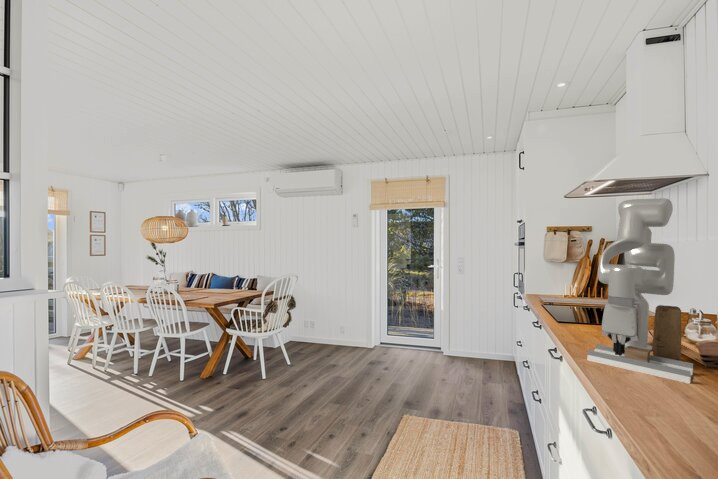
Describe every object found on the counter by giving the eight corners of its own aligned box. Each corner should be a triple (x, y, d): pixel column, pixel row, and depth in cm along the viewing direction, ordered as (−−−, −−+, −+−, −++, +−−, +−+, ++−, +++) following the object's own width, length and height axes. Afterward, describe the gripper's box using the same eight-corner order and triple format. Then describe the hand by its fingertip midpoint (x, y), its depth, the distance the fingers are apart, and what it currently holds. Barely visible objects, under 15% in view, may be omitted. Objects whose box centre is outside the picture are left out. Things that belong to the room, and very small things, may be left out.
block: (680, 369, 124) (683, 310, 124) (652, 364, 129) (654, 306, 128) (678, 361, 132) (681, 305, 132) (652, 356, 137) (654, 303, 137)
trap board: (596, 353, 139) (596, 344, 139) (692, 374, 120) (693, 363, 120) (587, 360, 130) (587, 350, 130) (689, 383, 111) (690, 372, 111)
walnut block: (627, 357, 129) (628, 345, 129) (649, 362, 124) (650, 350, 124) (624, 360, 125) (625, 348, 125) (646, 365, 121) (647, 353, 121)
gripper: (649, 304, 126) (647, 358, 126) (598, 297, 136) (596, 347, 137) (645, 306, 121) (643, 362, 121) (593, 299, 131) (591, 351, 131)
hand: (618, 354), depth 129 cm, fingers closed
